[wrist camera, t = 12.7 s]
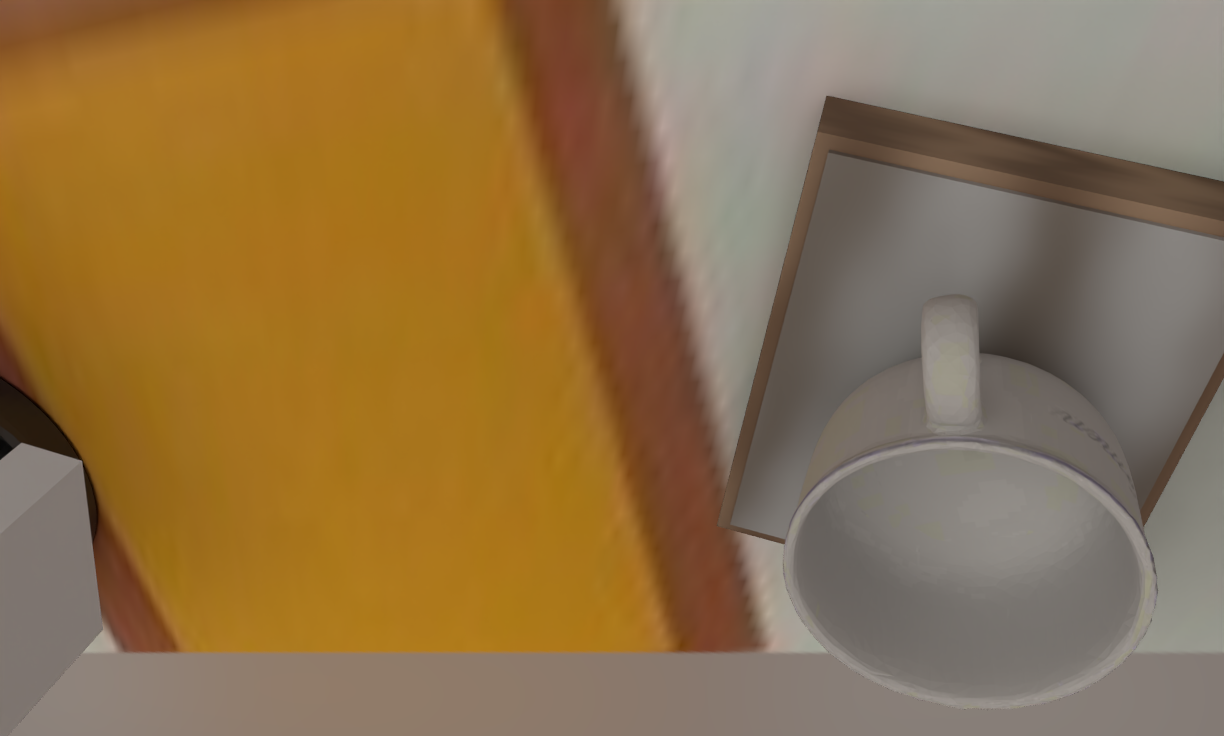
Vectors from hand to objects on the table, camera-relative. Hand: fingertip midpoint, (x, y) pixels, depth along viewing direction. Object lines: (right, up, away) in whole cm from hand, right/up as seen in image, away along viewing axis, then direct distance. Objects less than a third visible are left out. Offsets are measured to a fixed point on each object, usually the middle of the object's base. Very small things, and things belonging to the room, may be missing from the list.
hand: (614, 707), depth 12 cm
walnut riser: (+14, +5, +30) cm, 33 cm away
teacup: (+12, +2, +27) cm, 30 cm away
